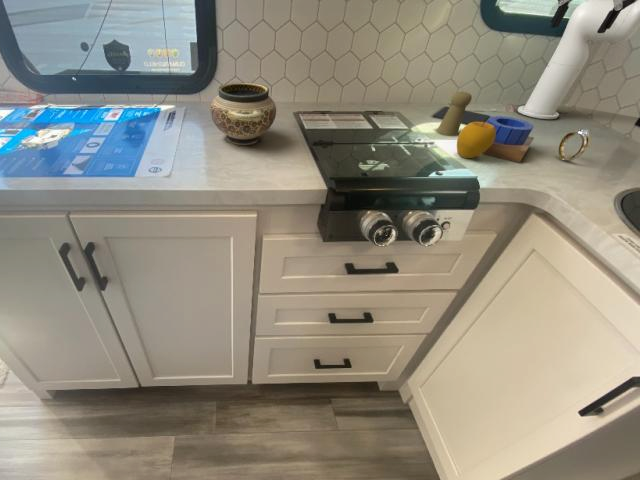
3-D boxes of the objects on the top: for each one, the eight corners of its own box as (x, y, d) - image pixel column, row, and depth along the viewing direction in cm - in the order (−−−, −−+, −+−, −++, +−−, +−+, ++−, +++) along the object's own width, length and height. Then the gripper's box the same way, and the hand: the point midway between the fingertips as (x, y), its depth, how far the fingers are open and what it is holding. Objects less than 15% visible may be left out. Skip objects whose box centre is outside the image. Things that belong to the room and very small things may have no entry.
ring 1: (485, 128, 103) (493, 113, 100) (527, 137, 98) (536, 122, 95) (476, 137, 97) (484, 122, 94) (520, 148, 92) (530, 132, 89)
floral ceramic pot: (220, 133, 109) (206, 80, 99) (275, 119, 107) (267, 63, 97) (219, 166, 92) (202, 106, 82) (284, 150, 90) (275, 86, 79)
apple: (471, 165, 90) (490, 130, 84) (443, 154, 95) (458, 120, 89) (490, 159, 94) (508, 124, 87) (461, 148, 99) (477, 115, 93)
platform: (476, 136, 107) (481, 125, 105) (527, 148, 101) (534, 137, 98) (464, 148, 99) (469, 137, 97) (519, 162, 93) (526, 151, 91)
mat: (445, 107, 128) (445, 106, 127) (489, 116, 121) (489, 115, 121) (432, 116, 119) (432, 115, 119) (478, 127, 113) (479, 126, 112)
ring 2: (577, 165, 92) (600, 134, 87) (565, 165, 92) (587, 133, 87) (560, 155, 97) (580, 124, 92) (549, 154, 97) (569, 124, 92)
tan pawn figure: (452, 137, 105) (470, 96, 98) (433, 131, 109) (449, 91, 101) (460, 132, 108) (478, 93, 101) (442, 127, 111) (458, 88, 104)
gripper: (699, -78, 66) (626, 34, 78) (594, -74, 76) (543, 24, 88) (690, -82, 63) (615, 36, 75) (581, -78, 72) (530, 26, 84)
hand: (576, 30), depth 81 cm, fingers open, 9 cm apart
